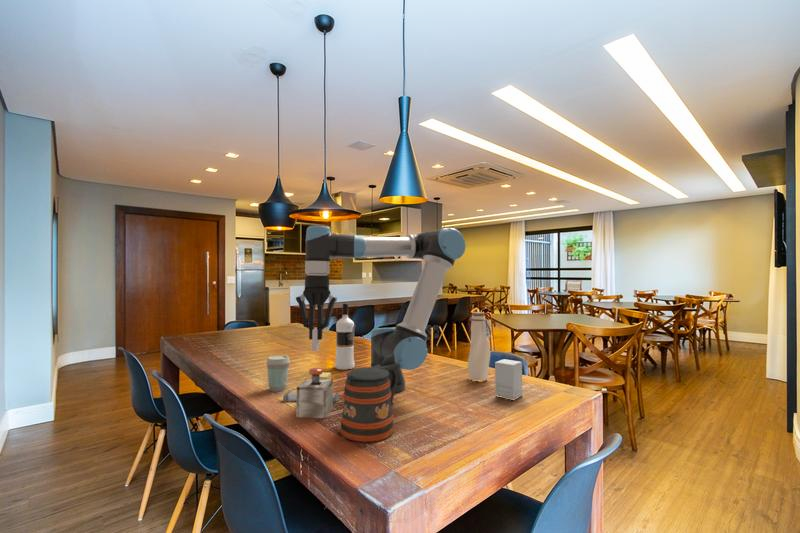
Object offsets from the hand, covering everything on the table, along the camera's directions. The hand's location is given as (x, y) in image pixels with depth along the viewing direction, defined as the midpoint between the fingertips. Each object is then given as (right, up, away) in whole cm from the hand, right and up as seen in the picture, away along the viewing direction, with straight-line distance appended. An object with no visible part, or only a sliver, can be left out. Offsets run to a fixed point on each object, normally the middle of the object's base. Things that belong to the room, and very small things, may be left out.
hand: (315, 349), depth 121 cm
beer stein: (+19, -20, -13) cm, 30 cm away
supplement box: (+66, -21, +17) cm, 71 cm away
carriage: (0, -20, +11) cm, 23 cm away
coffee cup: (-19, -20, +23) cm, 36 cm away
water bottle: (+60, -21, +40) cm, 75 cm away
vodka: (+1, -21, +58) cm, 62 cm away
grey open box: (0, -19, 0) cm, 19 cm away
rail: (-4, -20, +11) cm, 23 cm away
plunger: (0, -12, 0) cm, 12 cm away
